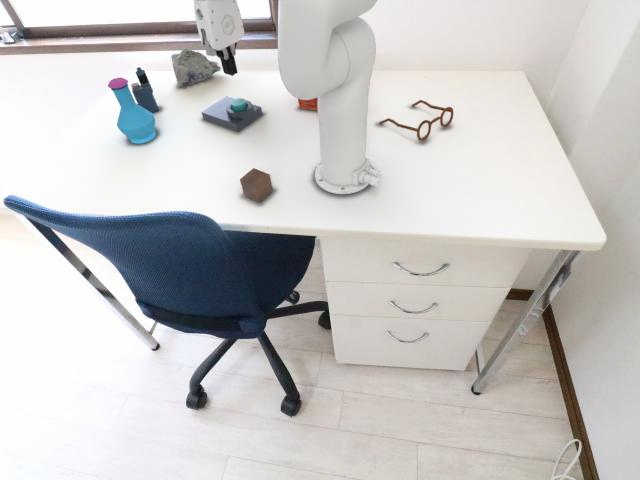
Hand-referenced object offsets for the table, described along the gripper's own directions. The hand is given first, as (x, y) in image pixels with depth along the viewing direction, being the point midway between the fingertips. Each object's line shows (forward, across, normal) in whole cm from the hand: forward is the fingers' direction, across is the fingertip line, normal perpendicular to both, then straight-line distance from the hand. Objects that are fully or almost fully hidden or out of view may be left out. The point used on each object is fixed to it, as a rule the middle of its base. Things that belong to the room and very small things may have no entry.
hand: (230, 73), depth 92 cm
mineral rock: (+13, +11, +28) cm, 33 cm away
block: (+13, -21, -24) cm, 34 cm away
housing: (+13, 0, +3) cm, 13 cm away
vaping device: (+13, -9, +27) cm, 32 cm away
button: (+9, 0, 0) cm, 9 cm away
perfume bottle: (+13, -19, +18) cm, 29 cm away
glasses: (+13, +20, -42) cm, 48 cm away
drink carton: (+13, +18, -17) cm, 28 cm away
